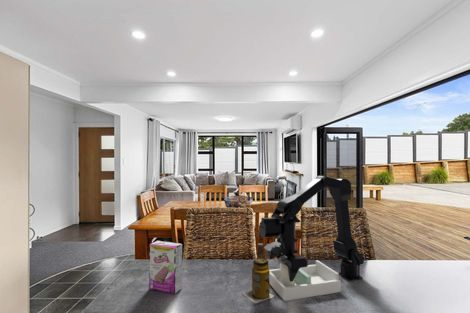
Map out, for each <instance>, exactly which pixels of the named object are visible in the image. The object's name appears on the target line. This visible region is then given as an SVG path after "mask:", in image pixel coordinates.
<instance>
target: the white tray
mask: <svg viewBox="0 0 470 313" xmlns="http://www.w3.org/2000/svg"><path fill="white" fill-rule="evenodd" d="M300 269H302V270H303V271H304V272H306V273H307V274H308V275H309V276H311V283H309V284H302V285H300V284H299V283H298V282H297V281H296V280H295V286H288V287H285V286H284V285H283V284H282V283H281V282H280V268H276V269H275V268H274V269H269V271H270V273H269V285H270V286H271V287H272V288H273V290H274V291H275V292H276V293H277V295H279V297H280V298H281V299H282V300H283V301H284V302H286V301H291V300H296V299H297V300H298V299H299V300H300V299H304V298H311V297H317V296H324V295H330V294H335V293H341V292H342V286H341V285H342V283H341V279H340V274H339V272H337V271H336V270H333V268H331V267H329V266H327V265H326V264H325V263H323V262H321V261H320V260H315V263H314V264H308V266H307V267H302V268H300Z"/></svg>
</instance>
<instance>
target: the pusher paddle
mask: <svg viewBox="0 0 470 313" xmlns="http://www.w3.org/2000/svg"><path fill="white" fill-rule="evenodd" d="M295 280H296V281H297V282H298V283H299V284H300V285H302V284H309V283H311V276H309V275H308V274H307V273H306V272H304V271H303V270H302V269H299V270H298V272H297V274H296V276H295Z"/></svg>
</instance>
